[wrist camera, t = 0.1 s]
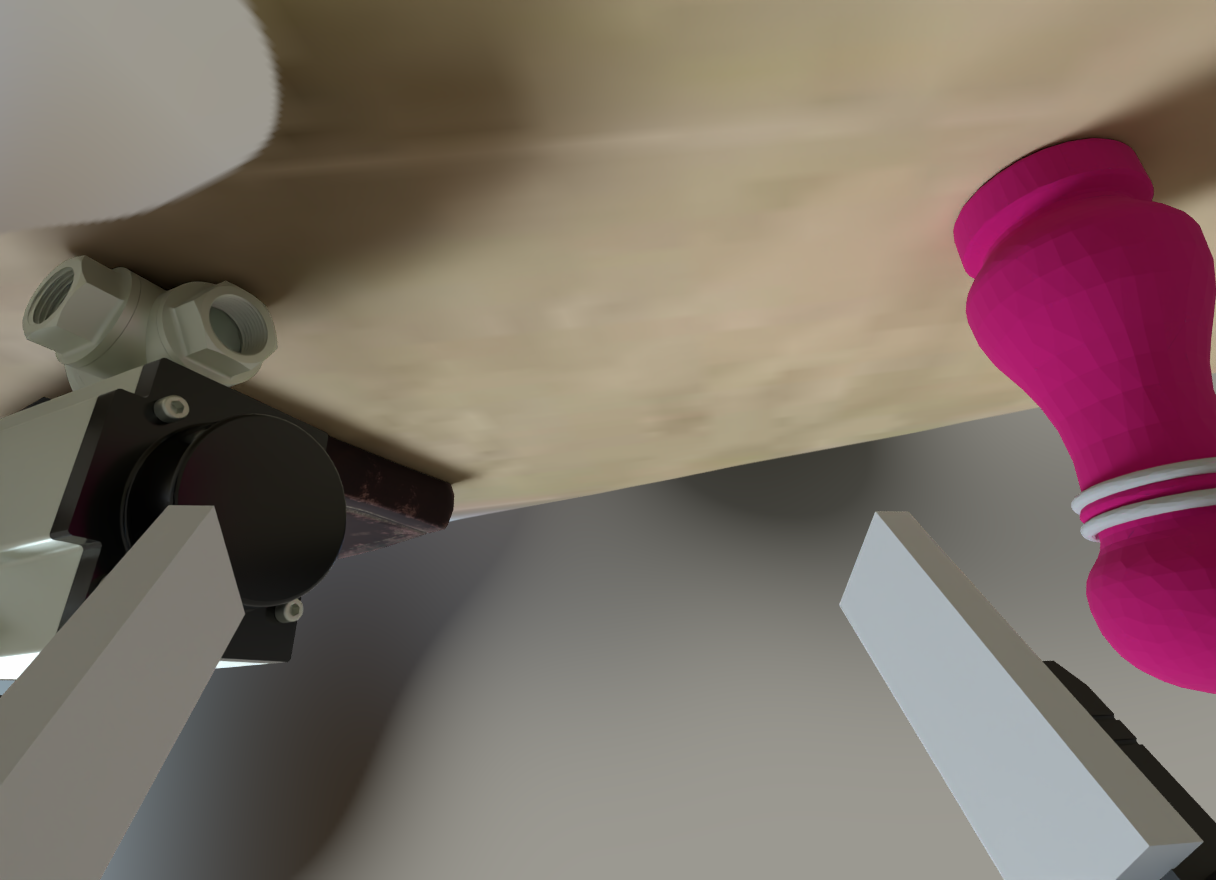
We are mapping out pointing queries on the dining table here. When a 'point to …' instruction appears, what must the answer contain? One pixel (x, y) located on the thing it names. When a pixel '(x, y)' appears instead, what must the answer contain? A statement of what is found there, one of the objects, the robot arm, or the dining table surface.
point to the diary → (382, 499)
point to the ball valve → (157, 457)
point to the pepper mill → (1112, 379)
